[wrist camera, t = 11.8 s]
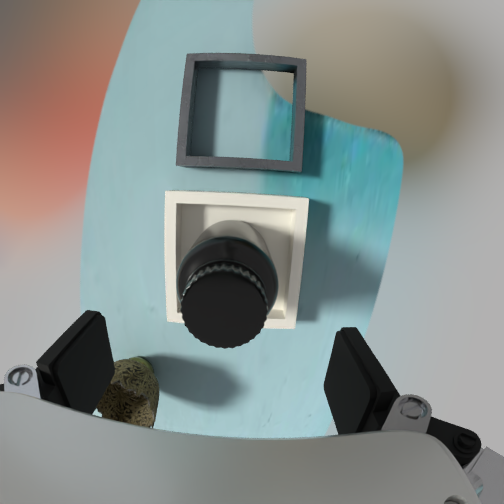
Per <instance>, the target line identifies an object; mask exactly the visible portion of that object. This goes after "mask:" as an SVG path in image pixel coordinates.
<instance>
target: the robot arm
mask: <svg viewBox="0 0 504 504" xmlns="http://www.w3.org/2000/svg"><path fill="white" fill-rule="evenodd" d="M36 363H37V366H38V367H37V368H36V369H34V368H33V367H32V366H29V365H18V366H14V367H13V368H11V369H10V370H8V371H7V373H6V374H5V377H4V384H0V504H504V457H503V456H501V455H500V454H498V453H496V452H495V451H493V450H491V449H490V448H488V447H486V448H485V449H483V448H481V441H480V438H479V437H478V436H477V434H476V433H474V432H473V431H471V430H468V429H465V428H462V427H459V426H456V425H454V424H451V423H448V422H445V421H442V420H439V419H436V418H434V417H431V413H432V409H431V406H430V404H429V403H428V402H427V401H426V400H425V399H423V398H421V397H419V396H417V395H402V396H400V395H399V393H398V391H397V390H396V388H395V386H394V385H393V383H392V382H391V380H390V378H389V377H388V375H387V374H386V372H385V371H384V369H383V367H382V366H381V364H380V363H379V361H378V360H377V359H376V357H375V355H374V354H373V353H372V351H371V349H370V348H369V346H368V345H367V343H366V342H365V340H364V338H363V337H362V335H361V334H360V332H359V331H358V329H357V328H356V327H343V328H341V330H340V331H337V332H336V335H335V340H334V344H333V349H332V353H331V357H330V361H329V365H328V369H327V373H326V377H325V381H324V391H325V394H326V397H327V400H328V404H329V407H330V410H331V413H332V416H333V419H334V422H335V425H336V428H337V431H338V434H339V435H331V436H318V437H299V438H238V437H220V436H208V435H198V434H189V433H181V432H173V431H166V430H160V429H154V428H149V427H143V426H138V425H133V424H128V423H124V422H119V421H115V420H111V419H107V418H103V417H99V416H95V415H92V414H93V412H94V410H95V409H96V407H97V405H98V403H99V401H100V399H101V398H102V396H103V394H104V392H105V391H106V389H107V387H108V385H109V384H110V382H111V380H112V378H113V377H114V374H115V366H114V361H113V357H112V352H111V347H110V343H109V338H108V332H107V327H106V321H105V317H104V316H102V315H101V313H100V312H97V311H91V310H87V311H85V312H84V313H83V314H82V315H81V316H80V317H79V318H78V319H77V320H76V321H75V322H74V324H72V325H71V326H70V327H69V328H68V329H67V330H66V331H65V332H64V333H63V334H62V335H61V336H60V337H59V339H58V340H57V341H56V342H55V343H54V344H53V345H52V346H51V347H50V348H49V349H48V350H47V351H46V352H45V353H44V354H43V355H42V356H41V357H40V359H38V361H37V362H36Z"/></svg>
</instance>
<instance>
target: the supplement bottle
mask: <svg viewBox="0 0 504 504" xmlns="http://www.w3.org/2000/svg"><path fill="white" fill-rule="evenodd" d="M278 288H279V283H278V276H277V271H276V268H275V265H274V263H273V260H272V257H271V255H270V252H269V250H268V247H267V245H266V242H265V240H264V239H263V237H262V236H261V234H260V233H259V232H258V231H257V230H256V229H255V228H253V227H252V226H250V225H249V224H247V223H244V222H241V221H237V220H225V221H220V222H217V223H215V224H213V225H211V226H209V227H208V228H207V229H206V230H204V231H203V233H202V234H201V235H200V236H199V237H198V239H197V240H196V241H195V243H194V244H193V245H192V247H191V248H190V249H189V251H188V252H187V254H186V255H185V256H184V258H183V260H182V262H181V264H180V266H179V269H178V272H177V277H176V290H177V295H178V299H179V301H180V304H181V309H180V311H181V313H182V319H183V320H184V322H185V326H186V327H187V328H188V330H189V332H190V333H192V334H193V335H194V337H195V338H197V339H199V340H200V341H201V342H203V343H206V344H207V345H209V346H214V347H216V348H219V347H222V348H234V347H236V346H241V345H243V344H245V343H248V342H249V341H250V340H252V339H254V338H255V337H256V335H257V334H259V333H260V331H261V329H262V328H263V327H264V322H265V321H266V320H267V315H268V314H269V313H270V311H271V310H272V308H273V306H274V304H275V302H276V299H277V295H278Z"/></svg>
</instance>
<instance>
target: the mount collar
mask: <svg viewBox="0 0 504 504" xmlns="http://www.w3.org/2000/svg"><path fill="white" fill-rule="evenodd" d="M200 68H228V69H253V70H268V71H279V72H289V73H294V83H293V107H292V127H291V145H290V161H280V160H268V159H253V158H234V157H205V156H190V151H191V137H192V124H193V113H194V102H195V92H196V83H197V74H198V69H200ZM305 94H306V59H299V58H292V57H282V56H272V55H260V54H241V53H194V54H187V57H186V64H185V71H184V79H183V88H182V97H181V106H180V117H179V128H178V141H177V156H176V166H181V167H222V168H244V169H260V170H274V171H287V172H302V158H303V140H304V120H305Z"/></svg>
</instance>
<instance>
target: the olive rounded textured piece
mask: <svg viewBox="0 0 504 504" xmlns="http://www.w3.org/2000/svg"><path fill="white" fill-rule="evenodd" d="M114 366H115V374H114V377H113V378H112V380H111V382H110V384H109V385H108V387H107V389H106V391H105V392H104V394H103V396H102V398H101V399H100V401H99V403H98V405H97V407H96V408H97V409H98V412H99V413H101V414H102V417H103V418H107V419H111V420H115V421H119V422H124V423H128V424H133V425H138V426H143V427H149V428H150V427H151V426H152V428H153V426H154V422H155V418H156V413H157V407H158V401H159V384H158V381H157V378H156V377H155V375H154V370H153V367H152V365H151V364H150V363H149V362H148V361H147V360H145V359H143V358H141V357H132V358H130V359H123V360H119V361H116V362H114Z"/></svg>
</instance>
